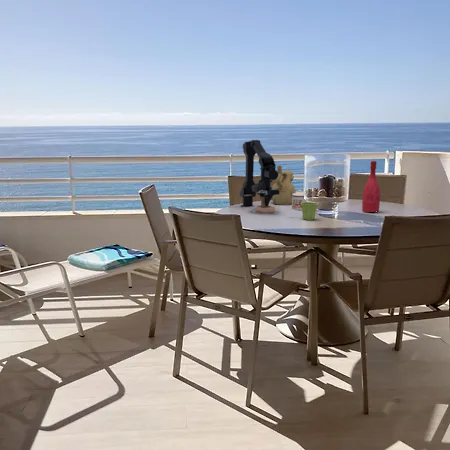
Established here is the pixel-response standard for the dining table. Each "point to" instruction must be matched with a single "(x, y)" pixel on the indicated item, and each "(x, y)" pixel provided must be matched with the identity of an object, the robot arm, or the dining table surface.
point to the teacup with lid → (297, 200)
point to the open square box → (265, 209)
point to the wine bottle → (371, 192)
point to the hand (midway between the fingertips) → (265, 205)
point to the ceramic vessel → (284, 187)
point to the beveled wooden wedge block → (263, 202)
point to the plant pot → (309, 210)
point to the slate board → (261, 213)
